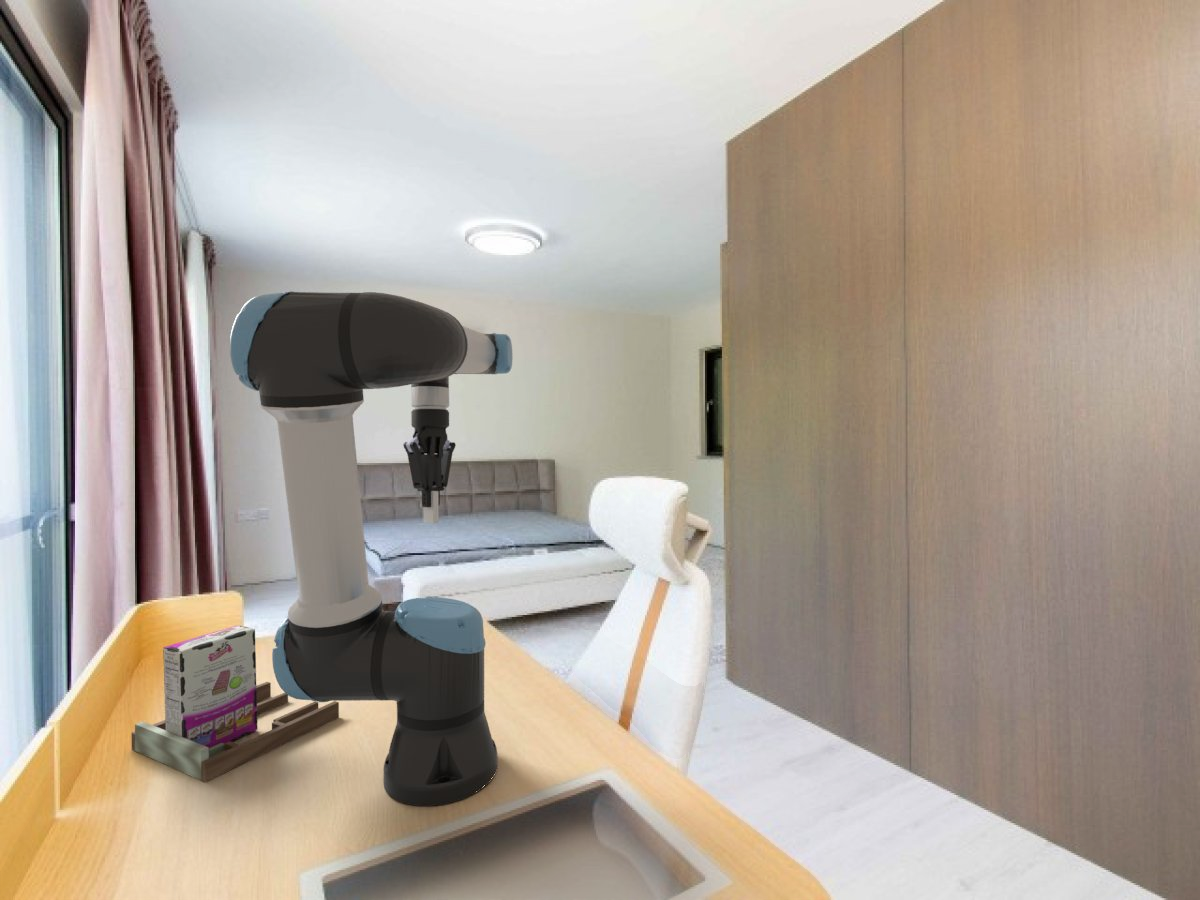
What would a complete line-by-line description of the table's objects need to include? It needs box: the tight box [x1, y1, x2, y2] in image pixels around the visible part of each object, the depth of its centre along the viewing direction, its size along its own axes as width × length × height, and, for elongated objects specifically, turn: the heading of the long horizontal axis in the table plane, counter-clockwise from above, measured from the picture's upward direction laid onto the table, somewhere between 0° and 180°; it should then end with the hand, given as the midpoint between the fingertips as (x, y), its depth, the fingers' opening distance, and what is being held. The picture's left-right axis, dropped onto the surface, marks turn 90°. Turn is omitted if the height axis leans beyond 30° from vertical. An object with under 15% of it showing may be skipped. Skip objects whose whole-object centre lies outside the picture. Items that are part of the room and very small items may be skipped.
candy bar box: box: [162, 625, 259, 748], centre depth 88 cm, size 11×5×16 cm, turn 155°
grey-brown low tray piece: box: [130, 681, 340, 783], centre depth 92 cm, size 19×21×4 cm
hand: (431, 522), depth 120 cm, fingers closed
